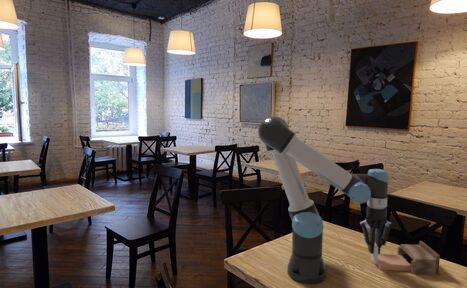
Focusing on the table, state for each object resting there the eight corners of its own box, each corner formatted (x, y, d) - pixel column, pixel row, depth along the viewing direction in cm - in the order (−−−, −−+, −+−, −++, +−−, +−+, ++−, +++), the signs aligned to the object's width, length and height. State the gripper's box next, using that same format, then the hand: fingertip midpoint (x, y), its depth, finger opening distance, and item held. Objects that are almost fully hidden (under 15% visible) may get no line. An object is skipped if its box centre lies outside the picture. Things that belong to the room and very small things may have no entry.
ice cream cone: (359, 251, 142) (361, 219, 140) (364, 246, 146) (366, 216, 144) (374, 255, 137) (376, 223, 135) (379, 251, 142) (381, 219, 140)
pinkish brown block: (380, 270, 125) (380, 264, 125) (372, 259, 134) (372, 253, 134) (410, 271, 124) (411, 265, 124) (400, 260, 133) (400, 254, 133)
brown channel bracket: (412, 273, 122) (413, 254, 121) (397, 257, 135) (398, 240, 134) (438, 274, 121) (439, 255, 120) (421, 258, 134) (422, 241, 134)
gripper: (363, 209, 124) (361, 264, 126) (397, 209, 123) (394, 265, 125) (357, 203, 131) (356, 255, 134) (389, 203, 130) (386, 256, 133)
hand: (374, 260), depth 130 cm, fingers closed
